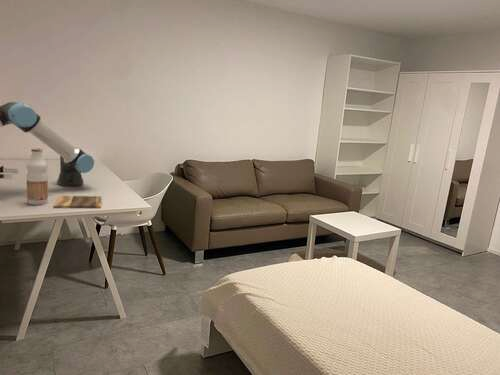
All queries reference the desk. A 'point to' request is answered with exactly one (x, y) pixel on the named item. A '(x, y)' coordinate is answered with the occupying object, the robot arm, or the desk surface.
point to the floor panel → (78, 202)
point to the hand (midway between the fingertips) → (15, 173)
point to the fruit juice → (37, 178)
